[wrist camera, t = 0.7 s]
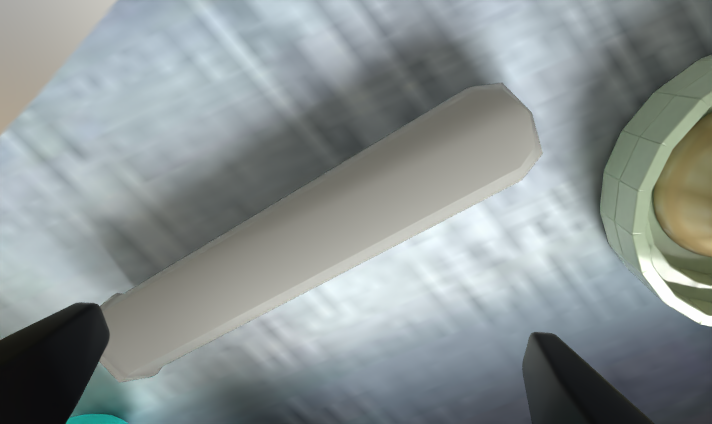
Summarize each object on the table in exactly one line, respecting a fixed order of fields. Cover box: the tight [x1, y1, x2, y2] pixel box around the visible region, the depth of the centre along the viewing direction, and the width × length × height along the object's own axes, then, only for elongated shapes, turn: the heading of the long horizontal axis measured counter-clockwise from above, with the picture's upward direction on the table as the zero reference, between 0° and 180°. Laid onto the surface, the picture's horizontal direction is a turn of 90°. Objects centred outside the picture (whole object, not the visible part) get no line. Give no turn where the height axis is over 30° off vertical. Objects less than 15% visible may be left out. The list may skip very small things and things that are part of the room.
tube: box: [99, 83, 543, 383], centre depth 21 cm, size 5×5×25 cm
